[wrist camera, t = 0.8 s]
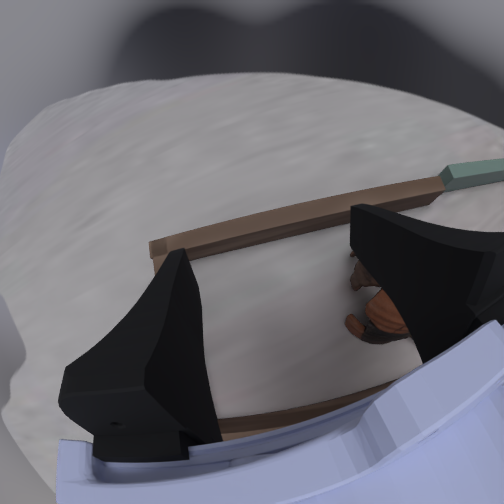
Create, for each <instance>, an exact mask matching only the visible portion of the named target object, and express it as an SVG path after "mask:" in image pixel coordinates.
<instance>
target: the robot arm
mask: <svg viewBox="0 0 504 504" xmlns="http://www.w3.org/2000/svg"><path fill="white" fill-rule="evenodd" d="M350 246H351V248H352V250H353V251H354V253H355V255H356V256H357V258H358V259H359V261H360V262H361V264H362V265H363V266H364V267H365V268H366V270H367V271H368V272H369V273H370V274H371V276H372V277H373V278H374V279H375V280H376V282H377V283H378V284H379V285H380V286H381V288H382V289H383V290H384V291H385V293H386V294H387V295H388V296H389V298H390V299H391V301H392V302H393V304H394V305H395V307H396V309H397V310H398V312H399V314H400V315H401V317H402V319H403V321H404V323H405V324H406V326H407V328H408V330H409V332H410V334H411V336H412V338H413V341H414V343H415V345H416V347H417V350H418V352H419V354H420V357H421V360H422V362H423V364H422V365H421V366H419V367H417V368H415V369H414V370H412V371H411V372H409V373H407V374H406V375H404V376H403V377H401V378H400V379H398V380H396V381H395V382H393V383H392V384H391V385H390V386H388V387H387V388H386V389H384V390H382V391H380V392H377V393H375V394H373V395H371V396H369V397H366V398H364V399H362V400H360V401H357V402H355V403H352V404H350V405H348V406H345V407H343V408H340V409H337V410H335V411H332V412H330V413H327V414H324V415H321V416H318V417H316V418H313V419H310V420H307V421H303V422H300V423H297V424H294V425H291V426H287V427H284V428H280V429H276V430H273V431H269V432H265V433H261V434H257V435H253V436H248V437H244V438H239V439H234V440H229V441H223V439H222V435H221V432H220V428H219V424H218V420H217V416H216V412H215V408H214V404H213V400H212V395H211V391H210V386H209V381H208V376H207V370H206V365H205V358H204V345H203V323H202V305H201V298H200V292H199V286H198V284H197V281H196V278H195V276H194V273H193V270H192V268H191V265H190V262H189V259H188V256H187V254H186V251H185V248H180V249H177V250H173V251H170V252H169V254H168V255H167V257H166V259H165V260H164V262H163V264H162V265H161V267H160V269H159V270H158V272H157V273H156V275H155V277H154V278H153V280H152V281H151V283H150V284H149V286H148V287H147V289H146V290H145V291H144V293H143V294H142V296H141V297H140V299H139V300H138V301H137V303H136V304H135V305H134V306H133V307H132V309H131V310H130V311H129V312H128V313H127V315H126V316H125V317H124V318H123V319H122V320H121V321H120V322H119V323H118V324H117V325H116V326H115V327H114V328H113V329H112V330H111V331H110V332H109V333H108V334H107V335H106V336H105V337H104V338H103V339H102V340H101V341H99V342H98V343H97V344H96V345H95V346H94V347H92V348H91V349H90V350H89V351H87V352H86V353H85V354H83V355H82V356H81V357H79V358H78V359H76V360H75V361H74V362H72V363H71V364H69V365H68V366H66V367H65V371H64V375H63V380H62V384H61V389H60V393H59V398H58V403H59V407H60V408H61V410H62V411H63V412H64V414H65V415H66V416H67V417H69V418H70V419H71V420H72V421H74V422H75V423H76V424H78V425H79V426H81V427H82V428H84V429H85V430H87V431H88V432H90V433H91V434H93V435H94V440H93V443H90V442H87V441H80V440H66V439H60V440H59V448H58V459H57V476H56V502H57V503H58V504H504V232H479V231H469V230H462V229H455V228H450V227H444V226H440V225H436V224H432V223H428V222H424V221H421V220H417V219H414V218H411V217H408V216H405V215H401V214H398V213H395V212H392V211H389V210H386V209H383V208H380V207H376V206H373V205H369V204H363V203H361V204H357V205H352V206H350Z"/></svg>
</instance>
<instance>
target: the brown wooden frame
mask: <svg viewBox="0 0 504 504" xmlns="http://www.w3.org/2000/svg"><path fill="white" fill-rule="evenodd" d="M445 190H446V189H445V187H444V184H443V182H442V180H441V177H440V176H436V177H430V178H424V179H418V180H413V181H407V182H402V183H396V184H391V185H386V186H380V187H375V188H370V189H365V190H360V191H355V192H350V193H346V194H341V195H336V196H331V197H327V198H322V199H317V200H313V201H308V202H304V203H299V204H295V205H291V206H286V207H282V208H278V209H273V210H269V211H265V212H261V213H257V214H253V215H249V216H244V217H240V218H236V219H232V220H228V221H225V222H221V223H217V224H213V225H209V226H205V227H201V228H198V229H194V230H190V231H186V232H183V233H179V234H175V235H172V236H168V237H164V238H161V239H157V240H154V241H150V242H149V250H150V258H151V259H153V263H154V271H155V275H156V273H157V272H158V270H159V269H160V267H161V265H162V264H163V262H164V260H165V259H166V257H167V255H168V254H169V252H170V251H173V250H177V249H180V248H185V251H186V254H187V256H188V259H189V261H191V260H195V259H199V258H203V257H207V256H211V255H215V254H220V253H224V252H228V251H232V250H236V249H241V248H245V247H249V246H253V245H257V244H262V243H266V242H270V241H274V240H278V239H283V238H287V237H291V236H295V235H300V234H304V233H308V232H313V231H317V230H321V229H325V228H330V227H334V226H338V225H343V224H347V223H350V206H352V205H357V204H361V203H363V204H369V205H373V206H376V207H380V208H383V209H386V210H389V211H392V212H399V211H404V210H408V209H412V208H417V207H421V206H426V205H429V204H430V203H432V202H433V201H434V200H435V199H436V198H437V197H438V196H439V195H441V194H442V193H443V192H444V191H445ZM399 379H400V378H399ZM396 380H398V379H396ZM396 380H393V381H391V382H388V383H385V384H382V385H379V386H376V387H373V388H370V389H367V390H364V391H361V392H358V393H354V394H351V395H347V396H344V397H340V398H337V399H333V400H329V401H325V402H321V403H317V404H312V405H308V406H303V407H298V408H293V409H288V410H283V411H277V412H271V413H265V414H258V415H251V416H243V417H235V418H225V419H217V420H218V424H219V428H220V432H221V435H222V439H223V441H229V440H234V439H239V438H244V437H248V436H253V435H257V434H261V433H265V432H269V431H273V430H276V429H280V428H284V427H287V426H291V425H294V424H297V423H300V422H303V421H307V420H310V419H313V418H316V417H318V416H321V415H324V414H327V413H330V412H332V411H335V410H337V409H340V408H343V407H345V406H348V405H350V404H352V403H355V402H357V401H360V400H362V399H364V398H366V397H369V396H371V395H373V394H375V393H377V392H380V391H382V390H384V389H386V388H387V387H388V386H390V385H391V384H392V383H393V382H395V381H396Z"/></svg>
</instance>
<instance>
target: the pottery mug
mask: <svg viewBox="0 0 504 504" xmlns="http://www.w3.org/2000/svg"><path fill="white" fill-rule="evenodd" d="M350 256H351V257H354V256H356V255H355V253H354V251H352V252H351V254H350ZM350 281H351V285H352V288H353V290H354V291H357V290H358V289H360V288H361V287H362V286H364V287H368V286H375V287H381V286H380V285H379V284H378V283H377V282H376V280H375V279H374V278H373V277H372V276H371V274H370V273H369V272H368V271H367V270H366V268H365V267H364V266H363V265H362V264H361V262H360V261H359V260H358V262H357V264H356V265H355V269H354V273H353V274H352V276H351V278H350ZM365 313H366V315H367V316H368V317H369V318H370V320H369V321H368V325H367V327H365V326H364V325H363V324H361V323H360V322H359V321H358V320H357V319H356V317H355V316H354V315H353V314H349V315H348V316H347V318H346V322H345V325H346V327H347V328H348V330H349V331H350V332H351V333H352V334H353V335H355V336H356V337H358V338H359V339H361V340H362V341H365V342H368V343H371V344H385V343H388V342H391V341H396V340H401V339H406V338H407V337H412V336H411V334H410V332H409V330H408V328H407V326H406V324H405V323H404V321H403V319H402V317H401V315H400V314H399V312H398V310H397V309H396V307H395V305H394V304H393V302H392V301H391V299H390V298H389V296H388V295H387V294H386V293H385V291H384V290H383V289H382V288H381V290H380V291H379V292H378V293H377V294H376V295H375V296H374V297H373V298H372V299H371V300H370V301H369V302H368V303H367V304H366V308H365Z"/></svg>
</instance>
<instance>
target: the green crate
mask: <svg viewBox="0 0 504 504" xmlns="http://www.w3.org/2000/svg"><path fill="white" fill-rule="evenodd" d="M438 176H440V177H441V180H442V182H443V184H444V187H445V189H446V190H445V191H444V192H449V191H454V190H459V189H464V188H469V187H474V186H479V185H484V184H489V183H494V182H500V181H504V159H494V160H484V161H476V162H467V163H460V164H452V165H447V167H446V168H445V169H444V170H443V171H442V172H441V173H440V174H439V175H438ZM444 192H443V193H444Z"/></svg>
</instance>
